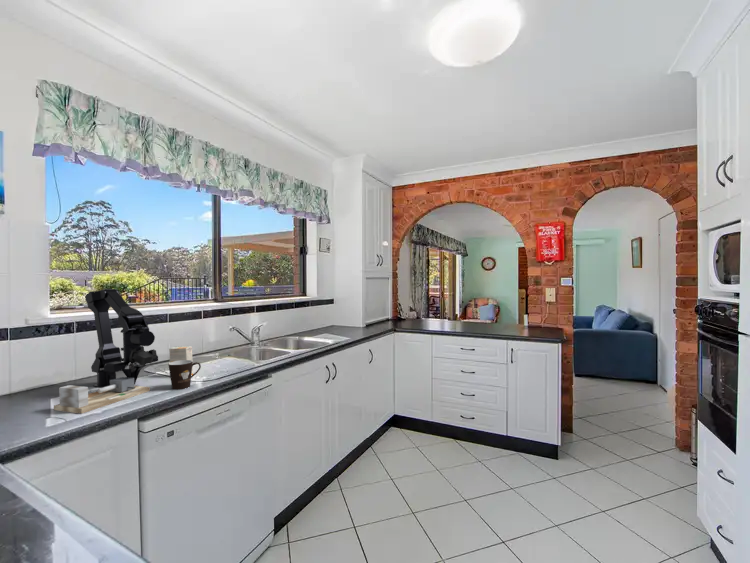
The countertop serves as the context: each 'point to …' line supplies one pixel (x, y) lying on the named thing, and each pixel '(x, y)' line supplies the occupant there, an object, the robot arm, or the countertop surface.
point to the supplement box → (181, 354)
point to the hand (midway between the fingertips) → (133, 384)
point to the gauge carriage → (119, 385)
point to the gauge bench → (91, 398)
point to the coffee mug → (181, 373)
